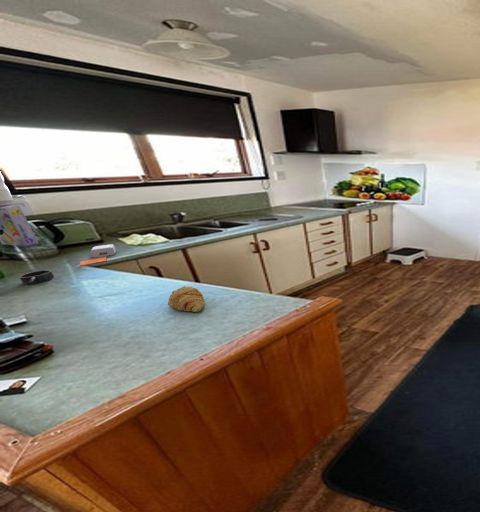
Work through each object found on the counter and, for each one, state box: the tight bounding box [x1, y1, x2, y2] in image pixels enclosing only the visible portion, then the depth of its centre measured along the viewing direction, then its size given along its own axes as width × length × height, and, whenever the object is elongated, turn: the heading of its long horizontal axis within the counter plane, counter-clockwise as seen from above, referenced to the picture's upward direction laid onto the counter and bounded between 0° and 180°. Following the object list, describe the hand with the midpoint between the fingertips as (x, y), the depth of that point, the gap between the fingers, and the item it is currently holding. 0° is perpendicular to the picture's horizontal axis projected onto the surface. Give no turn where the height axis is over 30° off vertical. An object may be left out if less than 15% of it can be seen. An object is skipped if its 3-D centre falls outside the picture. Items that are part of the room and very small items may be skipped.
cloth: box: [78, 256, 108, 267], centre depth 147 cm, size 10×10×1 cm
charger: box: [90, 243, 117, 259], centre depth 161 cm, size 5×9×15 cm
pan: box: [19, 269, 55, 285], centre depth 123 cm, size 9×9×4 cm
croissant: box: [167, 286, 205, 313], centre depth 98 cm, size 21×10×8 cm
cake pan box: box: [0, 206, 39, 247], centre depth 123 cm, size 19×5×18 cm, turn 75°
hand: (10, 227), depth 124 cm, fingers closed on cake pan box, 5 cm apart
